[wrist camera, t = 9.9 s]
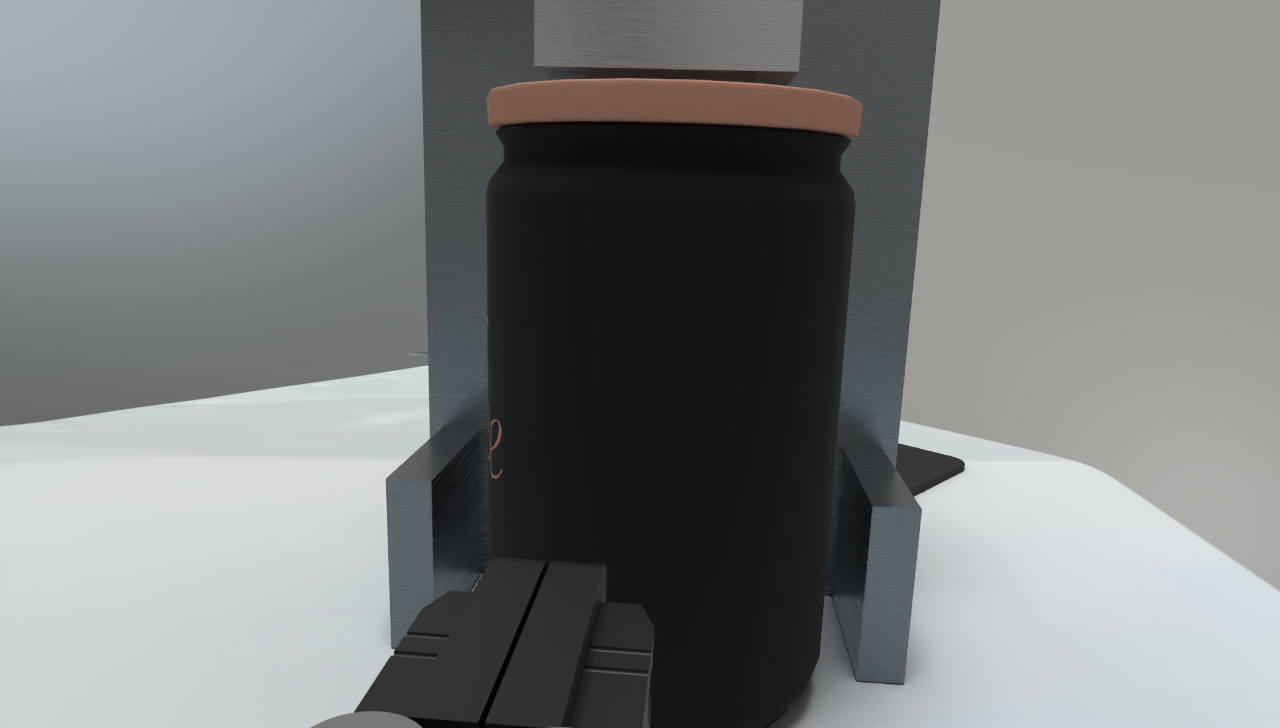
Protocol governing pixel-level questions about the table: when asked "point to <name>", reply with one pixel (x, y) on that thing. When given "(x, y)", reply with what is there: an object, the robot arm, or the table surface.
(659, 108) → the coffee jar
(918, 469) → the phone
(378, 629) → the table surface
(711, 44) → the bracket
